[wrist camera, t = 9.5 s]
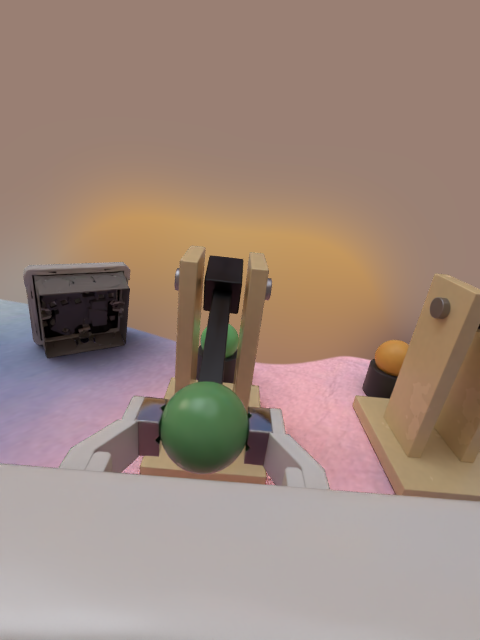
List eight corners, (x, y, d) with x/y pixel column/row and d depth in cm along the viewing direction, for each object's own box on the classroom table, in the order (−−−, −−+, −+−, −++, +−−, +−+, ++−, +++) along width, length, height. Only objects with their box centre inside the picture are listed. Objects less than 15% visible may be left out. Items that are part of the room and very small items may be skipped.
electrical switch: (124, 329, 40) (123, 256, 35) (137, 353, 36) (138, 274, 32) (33, 343, 35) (20, 259, 30) (38, 371, 31) (23, 281, 27)
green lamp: (193, 387, 31) (197, 330, 28) (198, 364, 34) (202, 312, 32) (235, 391, 31) (243, 335, 28) (236, 368, 34) (242, 317, 32)
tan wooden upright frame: (515, 511, 22) (637, 325, 16) (399, 502, 22) (484, 308, 16) (434, 413, 31) (495, 272, 26) (351, 405, 31) (396, 261, 25)
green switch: (242, 493, 13) (254, 451, 11) (153, 485, 13) (145, 441, 11) (248, 296, 23) (255, 251, 21) (197, 290, 23) (199, 245, 21)
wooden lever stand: (264, 490, 21) (304, 288, 16) (139, 480, 21) (137, 270, 15) (257, 396, 30) (281, 248, 25) (170, 388, 30) (176, 236, 25)
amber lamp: (370, 404, 31) (388, 350, 29) (357, 380, 35) (372, 330, 33) (411, 407, 31) (432, 354, 29) (393, 384, 35) (411, 334, 33)
